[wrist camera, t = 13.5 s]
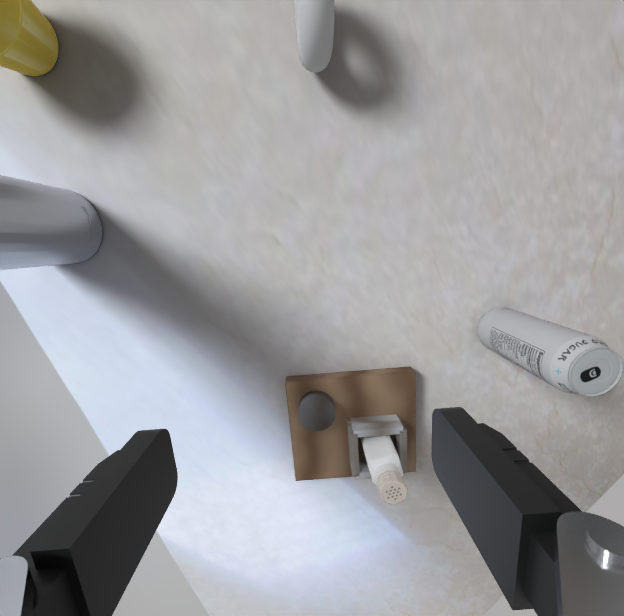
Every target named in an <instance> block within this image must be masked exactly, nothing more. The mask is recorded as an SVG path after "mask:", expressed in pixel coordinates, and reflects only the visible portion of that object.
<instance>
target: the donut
mask: <svg viewBox="0 0 624 616" xmlns="http://www.w3.org/2000/svg"><path fill="white" fill-rule="evenodd" d="M294 6H295V19H296V31H297V41H298V50H299V56H300V60H301V63H302V65H303V66H304V67H305V68H306V69H307V70H308V71H310V72H316V73H317V72H320V71H322V70H324V69H325V68H326V67H327V65H328V64H329V62H330V59H331V55H332V50H333V39H334V0H294Z"/></svg>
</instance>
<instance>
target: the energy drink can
mask: <svg viewBox="0 0 624 616" xmlns="http://www.w3.org/2000/svg"><path fill="white" fill-rule="evenodd" d="M478 337H479V339H480V341H481V343H482V344H483V345H484V346H486V347H487V348H489V349H491V350H492V351H494V352H496V353H498V354H499V355H501V356H503V357H504V358H506V359H508V360H510V361H511V362H513V363H515V364H516V365H518V366H520V367H521V368H523V369H525V370H527V371H528V372H530V373H532V374H533V375H535V376H537V377H539V378H540V379H542V380H544V381H545V382H547V383H549V384H551V385H552V386H554V387H556V388H557V389H559V390H561V391H563V392H567V393H578V394H581V395H584V396H599V395H602V394H604V393H606V392H608V391H609V390H611V389H612V388H613V387H614V386H615V385H616V384H617V383H618V381H619V380H620V378H621V375H622V372H623V362H622V359H621V357H620V356H619V355H618V353H616V352H615V351H613V350H611V349H609V347H608V346H607V345H606V343H605V342H603V341H602V340H601V339H599V338H597V337H594V336H591V335H588V334H585V333H582V332H579V331H576V330H573V329H570V328H567V327H564V326H561V325H558V324H555V323H552V322H549V321H546V320H542V319H539V318H536V317H533V316H530V315H527V314H524V313H521V312H518V311H515V310H512V309H509V308H496V309H493V310H491V311H489V312H488V313H486V314H485V315H484V316H483V317H482V318H481V320H480V321H479V324H478Z"/></svg>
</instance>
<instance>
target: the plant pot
mask: <svg viewBox="0 0 624 616" xmlns="http://www.w3.org/2000/svg"><path fill="white" fill-rule="evenodd" d="M58 53H59V46H58V40H57V36H56V33H55V31H54V29H53V27H52V25H51V24H50V22H49V21H48V20H47V19H46V17H45V16H44V15H43V14H42V13H41V12H40V10H39V9H38V8H37V7H36V6H35V4H34V3H33V2H32V1H31V0H0V66H2V67H5V68H8V69H11V70H14V71H17V72H19V73H22V74H25V75H29V76H40V75H43V74H46V73H47V72H49V71H50V70H51V69H52V68H53V66H54V65H55V63H56V61H57V58H58Z"/></svg>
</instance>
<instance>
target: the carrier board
mask: <svg viewBox="0 0 624 616" xmlns="http://www.w3.org/2000/svg"><path fill="white" fill-rule="evenodd" d="M285 384H286V393H287V402H288V412H289V421H290V430H291V440H292V449H293V458H294V468H295V477H296V481H300V480H313V479H325V478H338V477H351V476H352V477H356V480H357V479H369V478H371V475H370V471H369V468H368V464H367V461H366V457H365V453H364V450H363V446H362V442H361V438H360V437H369V436H382V435H390V437H391V440H392V442H393V444H394V447H395V449H396V451H397V454H398V456H399V459H400V463H401V466H402V470H403V476H404V473H406V472H414V471H416V438H415V372H414V370H413V369H412V368H411V367H400V368H387V369H375V370H362V371H350V372H337V373H325V374H312V375H300V376H287V377H286V382H285Z"/></svg>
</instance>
